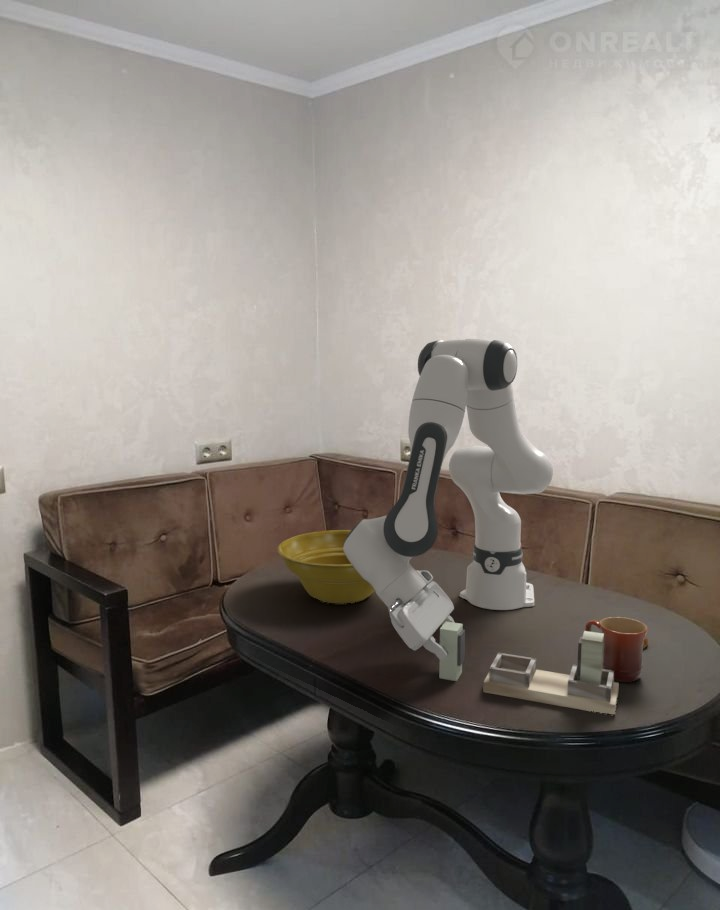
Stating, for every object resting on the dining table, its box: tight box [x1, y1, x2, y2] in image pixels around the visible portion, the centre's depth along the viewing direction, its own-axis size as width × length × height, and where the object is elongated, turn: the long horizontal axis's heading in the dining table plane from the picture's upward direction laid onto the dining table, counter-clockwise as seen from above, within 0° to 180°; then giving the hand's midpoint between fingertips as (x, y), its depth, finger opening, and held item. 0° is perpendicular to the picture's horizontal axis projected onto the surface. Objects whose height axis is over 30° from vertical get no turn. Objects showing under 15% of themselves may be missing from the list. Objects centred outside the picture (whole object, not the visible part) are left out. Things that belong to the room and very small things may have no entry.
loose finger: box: [438, 622, 466, 682], centre depth 140 cm, size 4×4×10 cm
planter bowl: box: [276, 529, 375, 605], centre depth 186 cm, size 32×32×13 cm
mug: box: [584, 616, 649, 683], centre depth 140 cm, size 12×9×10 cm
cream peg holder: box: [482, 630, 620, 715], centre depth 132 cm, size 9×23×12 cm, turn 67°
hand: (452, 647), depth 140 cm, fingers open, 8 cm apart
